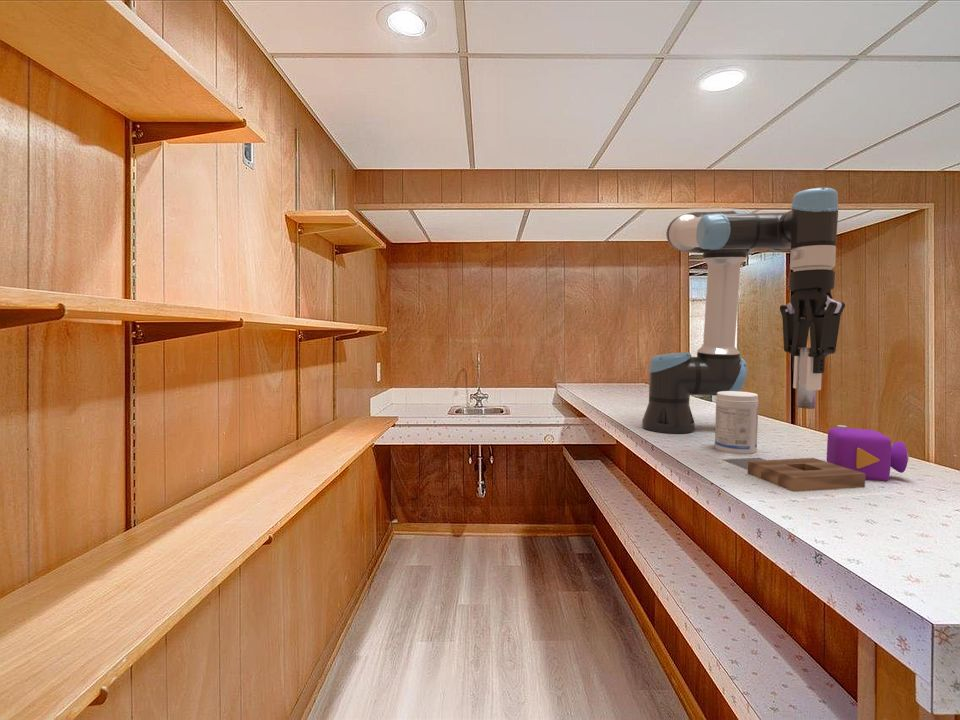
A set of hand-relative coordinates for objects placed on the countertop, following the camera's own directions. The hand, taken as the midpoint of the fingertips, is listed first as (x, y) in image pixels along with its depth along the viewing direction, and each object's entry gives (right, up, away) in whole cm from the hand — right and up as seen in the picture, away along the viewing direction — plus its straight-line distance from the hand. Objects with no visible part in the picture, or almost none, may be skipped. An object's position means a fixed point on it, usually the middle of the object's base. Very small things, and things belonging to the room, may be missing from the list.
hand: (806, 388), depth 101 cm
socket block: (0, -19, +1) cm, 19 cm away
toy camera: (+16, -19, +5) cm, 25 cm away
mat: (-3, -18, +12) cm, 22 cm away
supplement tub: (-1, -17, +27) cm, 32 cm away
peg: (0, -4, 0) cm, 4 cm away
